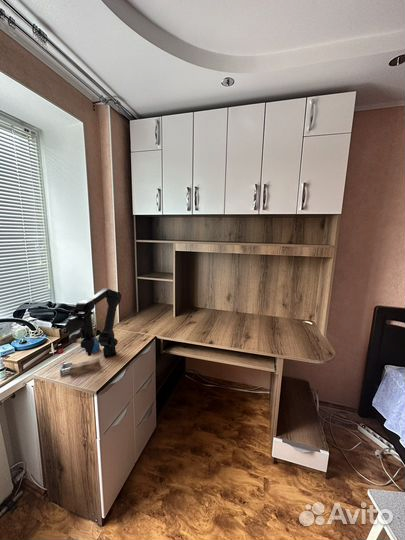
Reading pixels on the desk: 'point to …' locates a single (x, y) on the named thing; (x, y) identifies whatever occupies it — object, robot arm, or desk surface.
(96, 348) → the perfume bottle
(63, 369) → the bracket
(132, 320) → the desk surface
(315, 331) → the desk surface
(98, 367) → the rail
